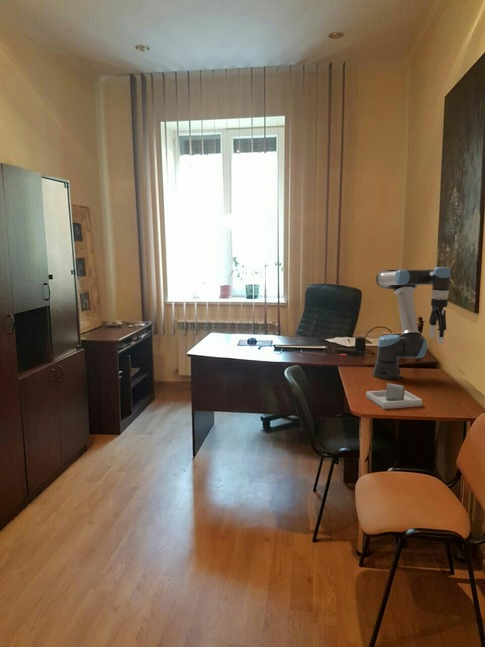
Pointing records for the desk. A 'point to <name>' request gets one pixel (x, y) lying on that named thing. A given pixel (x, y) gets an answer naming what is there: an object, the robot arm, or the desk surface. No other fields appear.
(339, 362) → the desk surface
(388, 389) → the ceramic mug
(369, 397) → the tray
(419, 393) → the desk surface
